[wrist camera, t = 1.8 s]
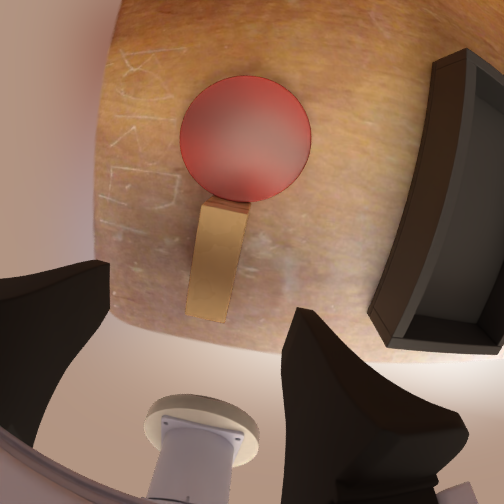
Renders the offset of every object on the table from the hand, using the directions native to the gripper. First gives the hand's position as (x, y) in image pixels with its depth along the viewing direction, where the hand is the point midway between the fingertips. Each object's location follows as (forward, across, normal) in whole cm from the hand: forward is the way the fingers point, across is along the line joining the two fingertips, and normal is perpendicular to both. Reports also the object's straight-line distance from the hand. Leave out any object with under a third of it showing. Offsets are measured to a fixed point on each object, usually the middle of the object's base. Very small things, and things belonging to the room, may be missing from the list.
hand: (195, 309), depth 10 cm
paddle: (+7, 0, -3) cm, 8 cm away
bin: (+7, -16, -6) cm, 19 cm away
